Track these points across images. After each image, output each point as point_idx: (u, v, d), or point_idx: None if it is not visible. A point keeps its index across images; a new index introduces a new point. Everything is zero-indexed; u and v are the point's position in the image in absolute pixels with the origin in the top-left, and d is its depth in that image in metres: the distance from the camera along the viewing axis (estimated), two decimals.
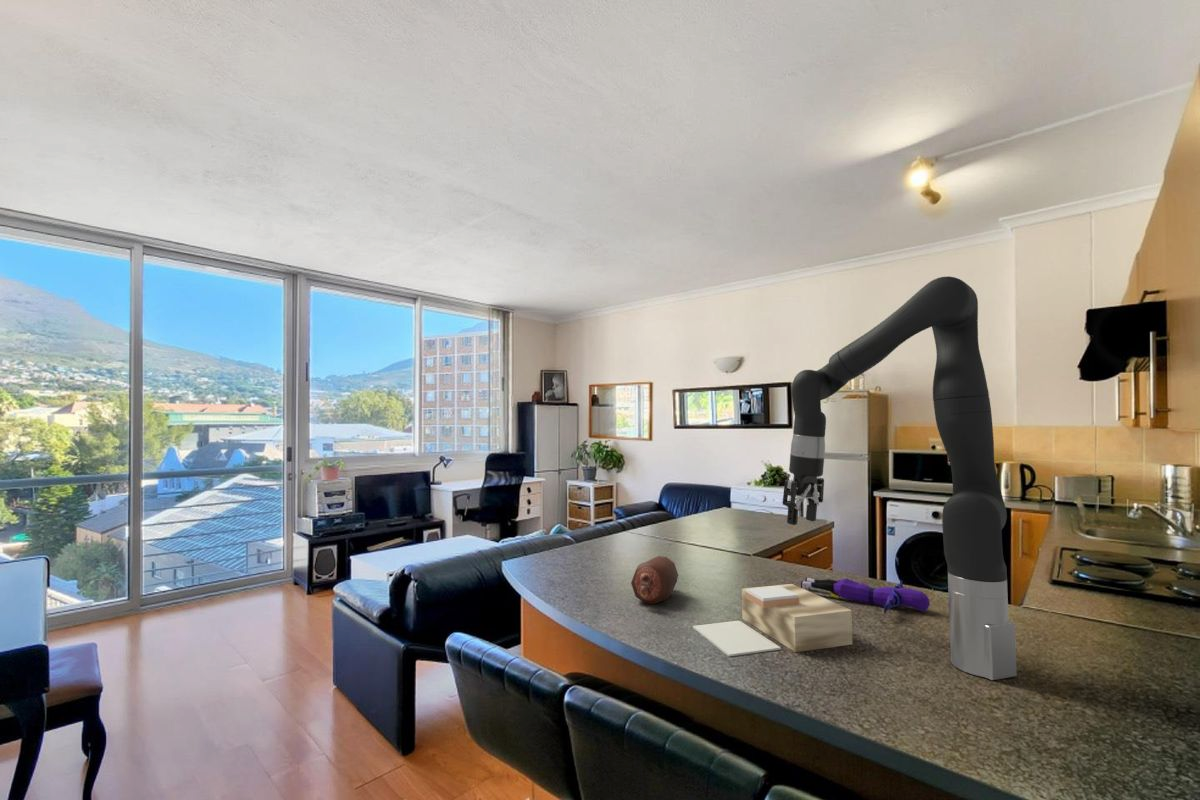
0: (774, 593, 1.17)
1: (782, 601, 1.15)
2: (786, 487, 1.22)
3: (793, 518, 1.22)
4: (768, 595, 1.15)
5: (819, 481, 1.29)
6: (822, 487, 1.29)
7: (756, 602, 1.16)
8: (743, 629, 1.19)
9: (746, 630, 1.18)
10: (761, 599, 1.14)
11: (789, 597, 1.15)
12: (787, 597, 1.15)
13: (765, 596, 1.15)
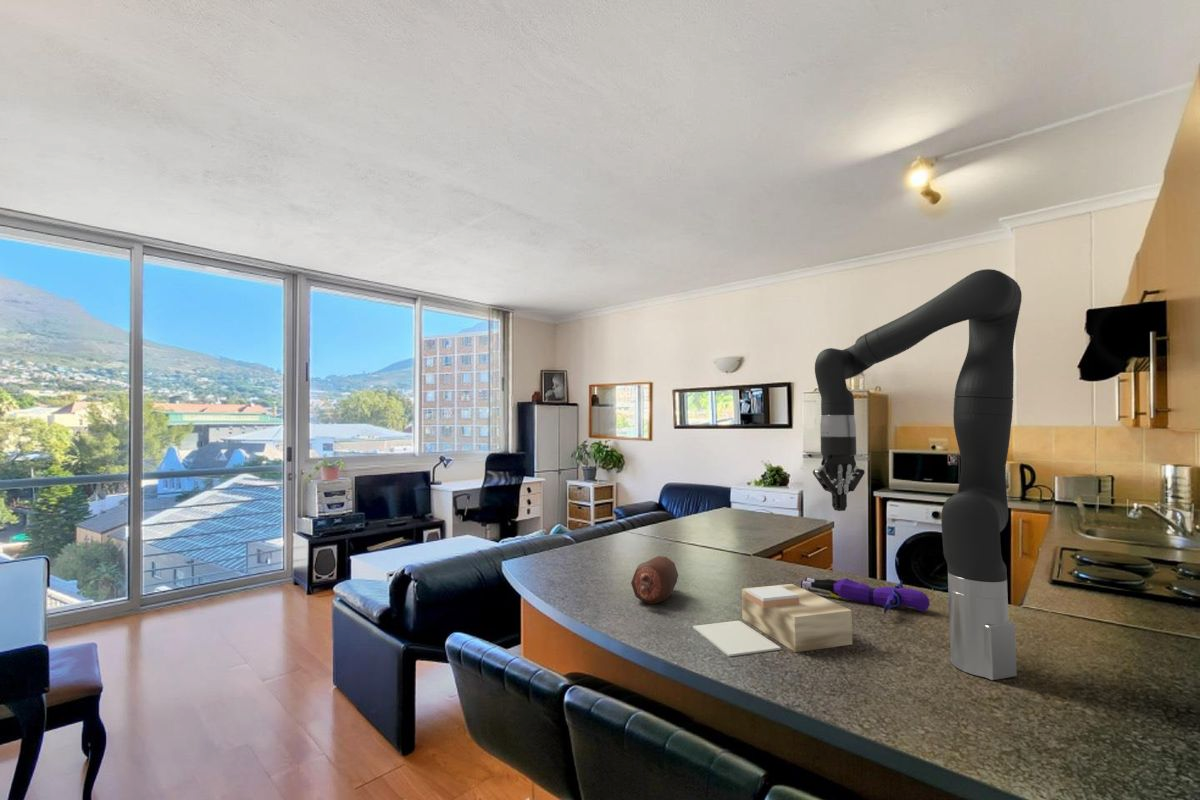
0: (774, 593, 1.17)
1: (782, 601, 1.15)
2: (817, 478, 1.21)
3: (837, 504, 1.21)
4: (768, 595, 1.15)
5: (858, 470, 1.23)
6: (859, 477, 1.22)
7: (756, 602, 1.16)
8: (743, 629, 1.19)
9: (746, 630, 1.18)
10: (761, 599, 1.14)
11: (789, 597, 1.15)
12: (787, 597, 1.15)
13: (765, 596, 1.15)
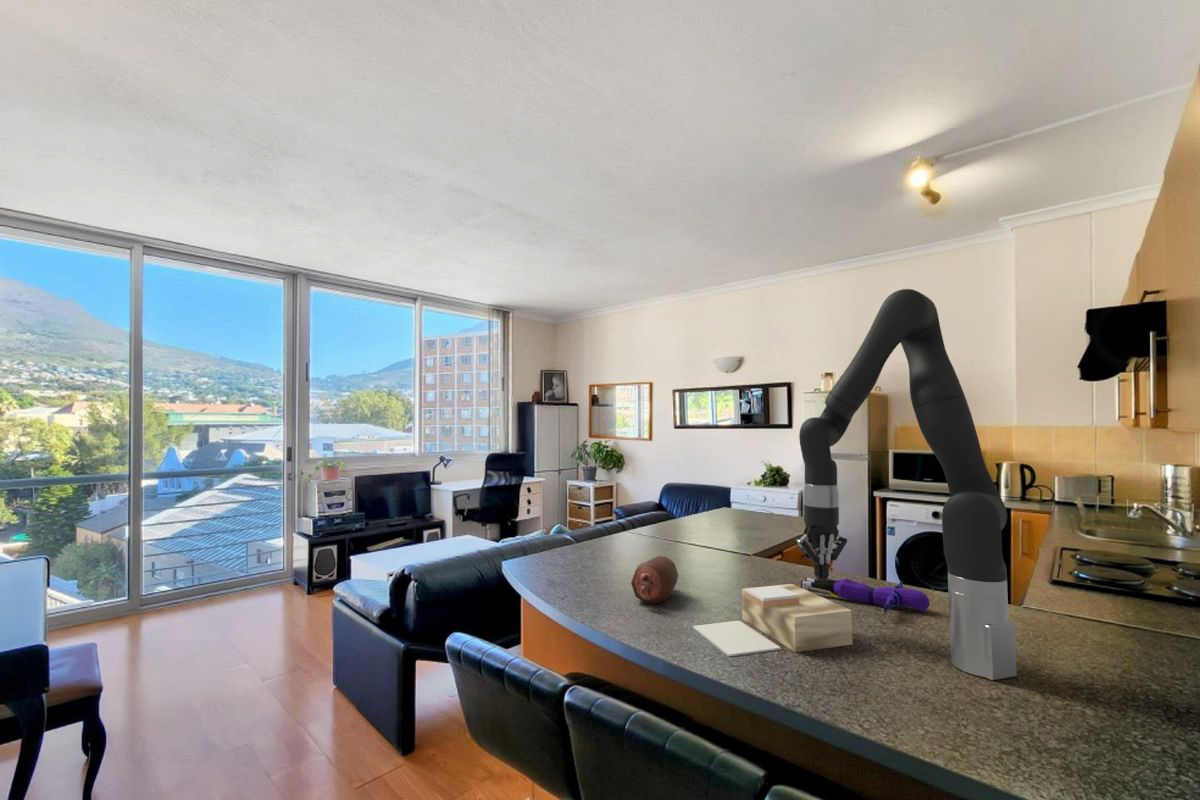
0: (774, 593, 1.17)
1: (782, 601, 1.15)
2: (800, 547, 1.21)
3: (819, 573, 1.21)
4: (768, 595, 1.15)
5: (841, 539, 1.23)
6: (841, 546, 1.22)
7: (756, 602, 1.16)
8: (743, 629, 1.19)
9: (746, 630, 1.18)
10: (761, 599, 1.14)
11: (789, 597, 1.15)
12: (787, 597, 1.15)
13: (765, 596, 1.15)
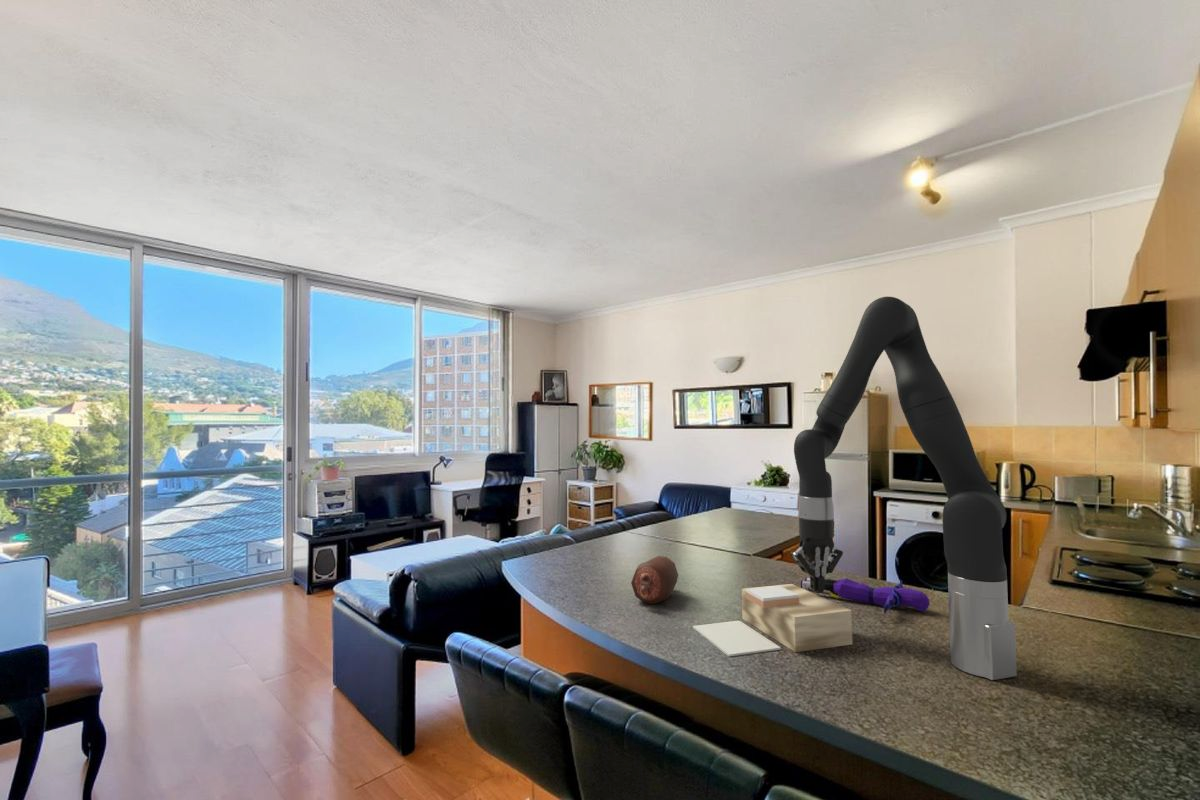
0: (774, 593, 1.17)
1: (782, 601, 1.15)
2: (795, 560, 1.21)
3: (815, 586, 1.20)
4: (768, 595, 1.15)
5: (836, 551, 1.23)
6: (837, 559, 1.22)
7: (756, 602, 1.16)
8: (743, 629, 1.19)
9: (746, 630, 1.18)
10: (761, 599, 1.14)
11: (789, 597, 1.15)
12: (787, 597, 1.15)
13: (765, 596, 1.15)
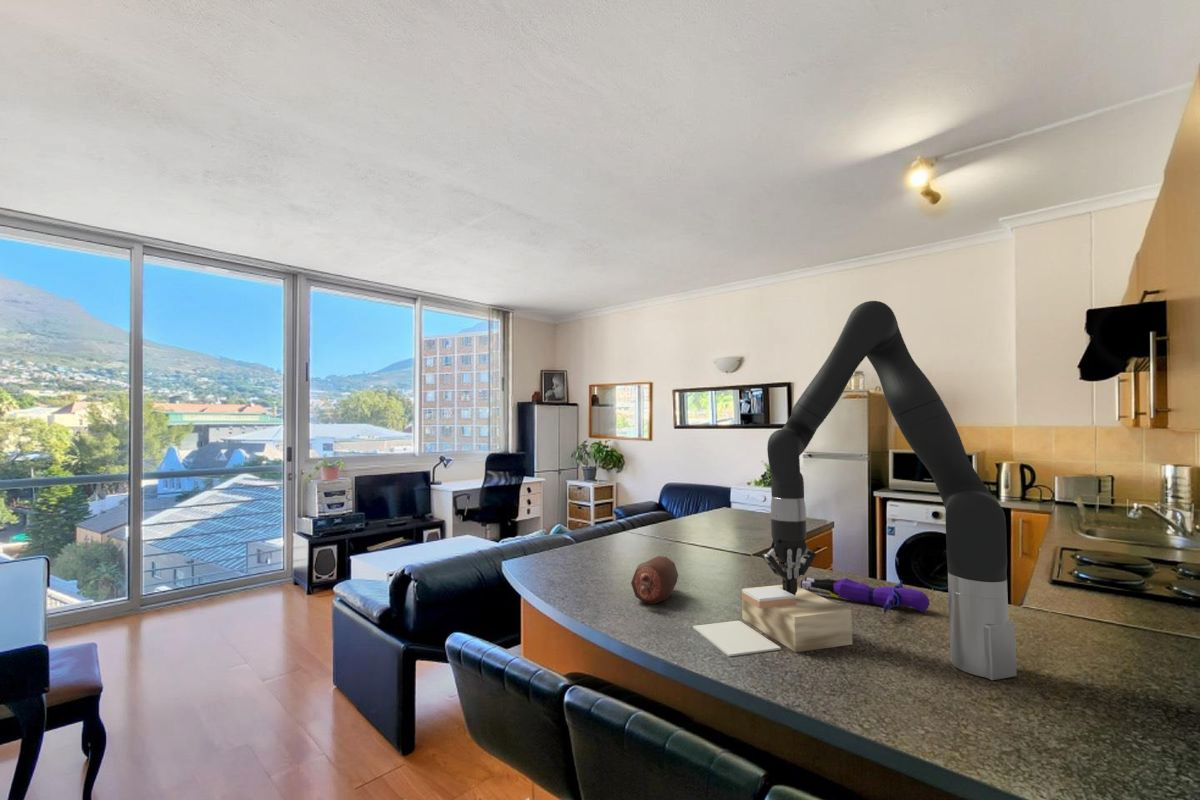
0: (770, 594, 1.16)
1: (778, 601, 1.14)
2: (767, 562, 1.19)
3: (787, 588, 1.18)
4: (764, 595, 1.15)
5: (809, 553, 1.21)
6: (810, 560, 1.20)
7: (752, 602, 1.15)
8: (743, 629, 1.19)
9: (746, 630, 1.18)
10: (757, 600, 1.14)
11: (785, 597, 1.15)
12: (783, 597, 1.15)
13: (761, 596, 1.14)
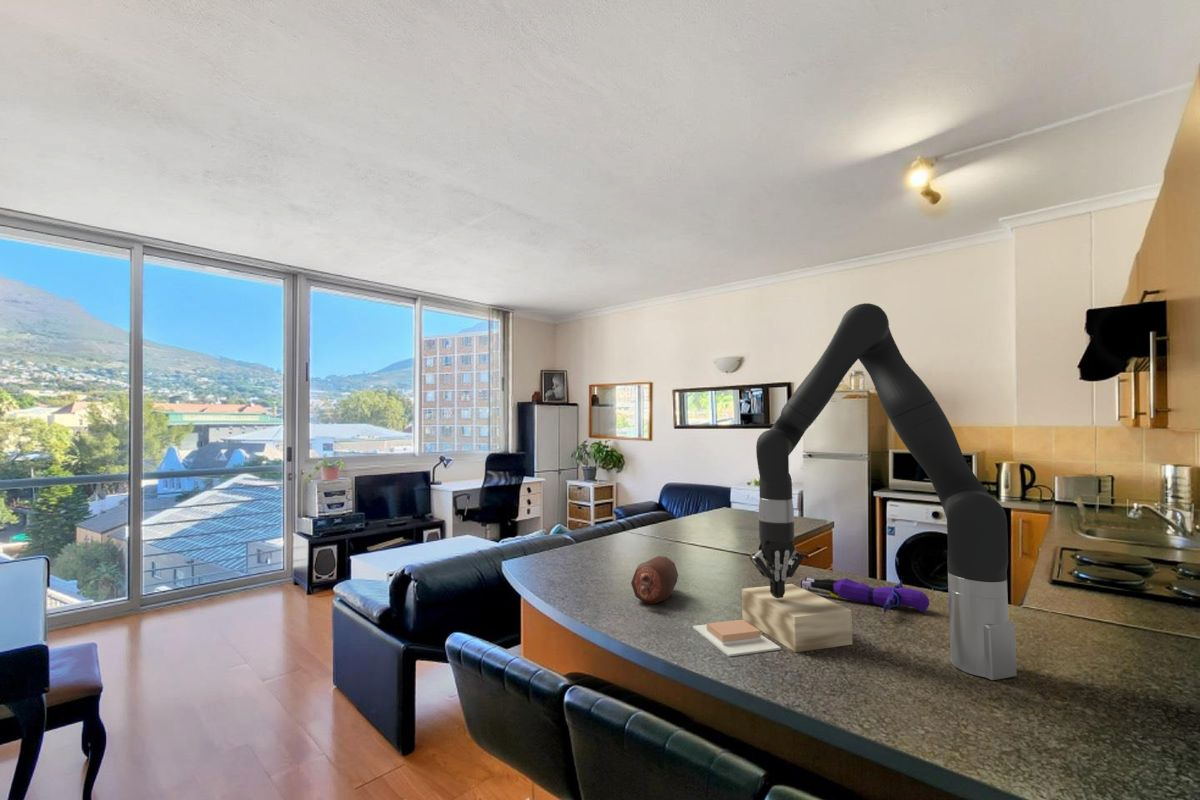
0: None
1: (740, 638, 1.11)
2: (754, 563, 1.18)
3: (774, 591, 1.17)
4: None
5: (797, 555, 1.19)
6: (798, 562, 1.19)
7: None
8: None
9: None
10: None
11: (732, 641, 1.11)
12: (734, 641, 1.11)
13: None
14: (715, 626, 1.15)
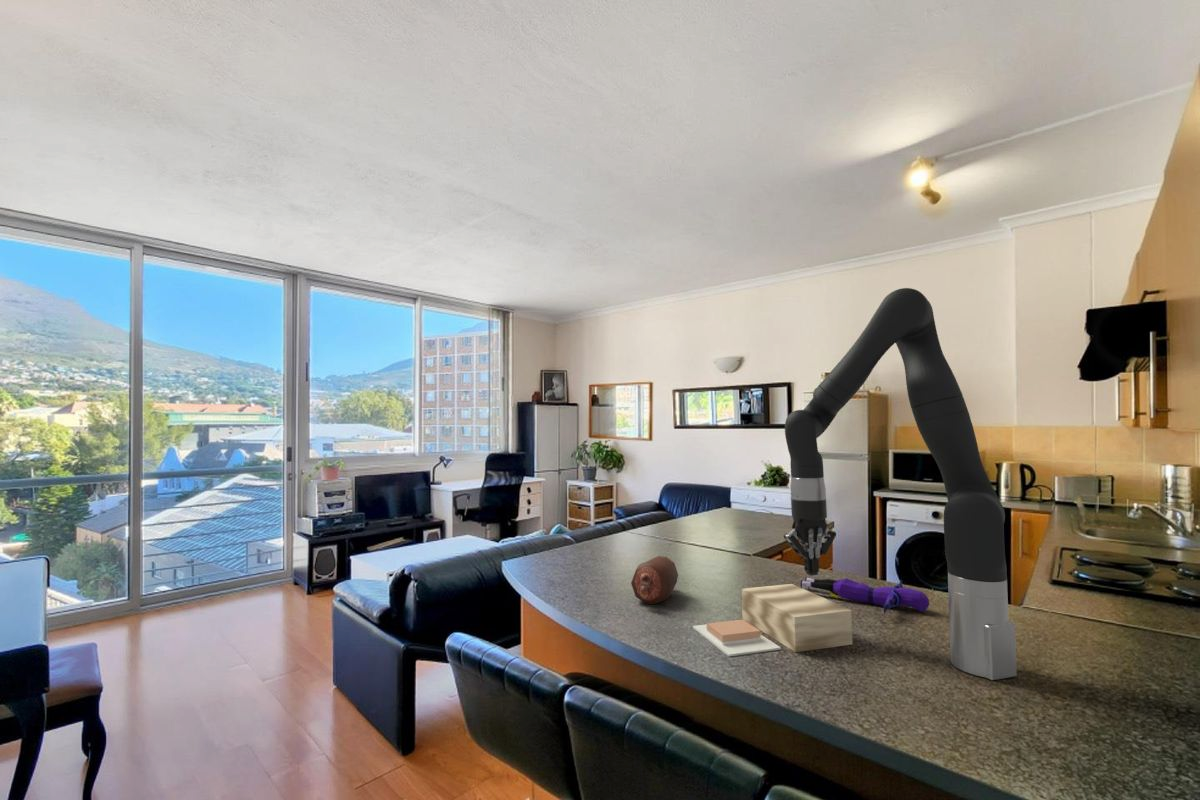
0: None
1: (740, 638, 1.11)
2: (788, 542, 1.20)
3: (809, 568, 1.19)
4: None
5: (830, 532, 1.21)
6: (831, 540, 1.21)
7: None
8: None
9: None
10: None
11: (732, 641, 1.11)
12: (734, 641, 1.11)
13: None
14: (715, 626, 1.15)
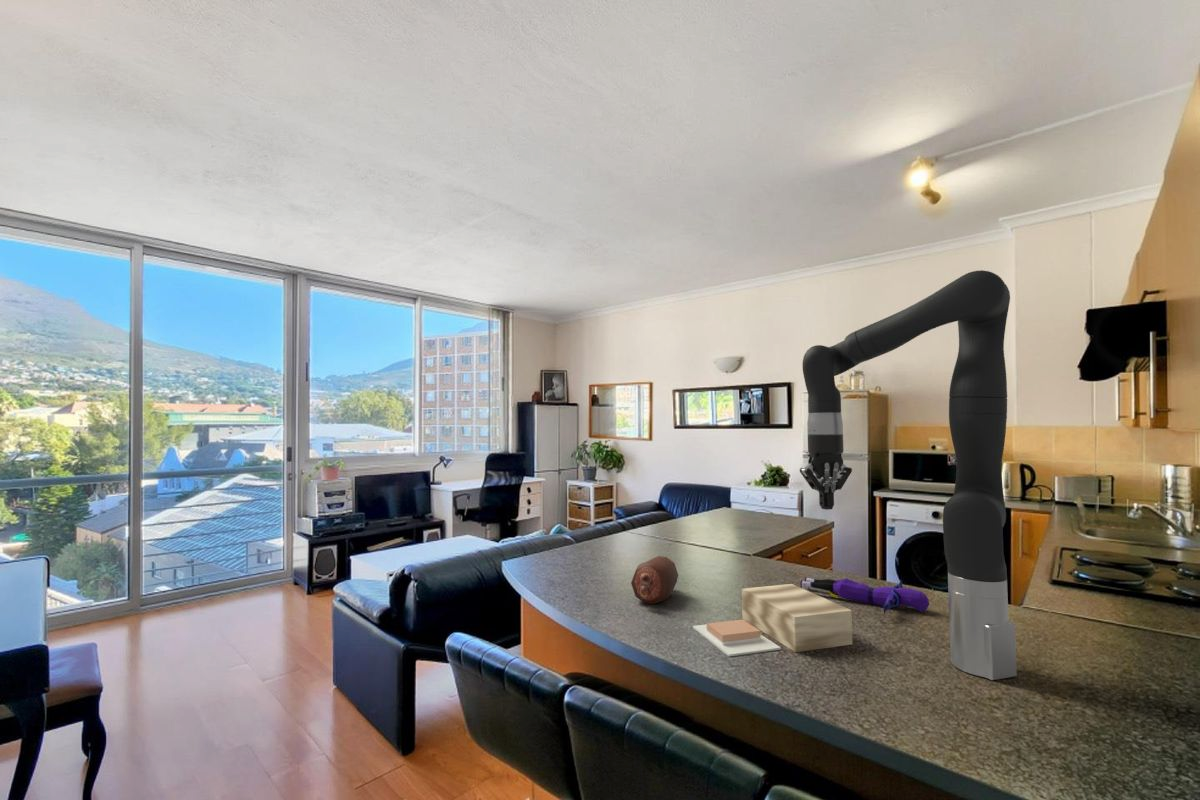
0: None
1: (740, 638, 1.11)
2: (804, 476, 1.20)
3: (824, 502, 1.20)
4: None
5: (846, 468, 1.22)
6: (846, 476, 1.21)
7: None
8: None
9: None
10: None
11: (732, 641, 1.11)
12: (734, 641, 1.11)
13: None
14: (715, 626, 1.15)
